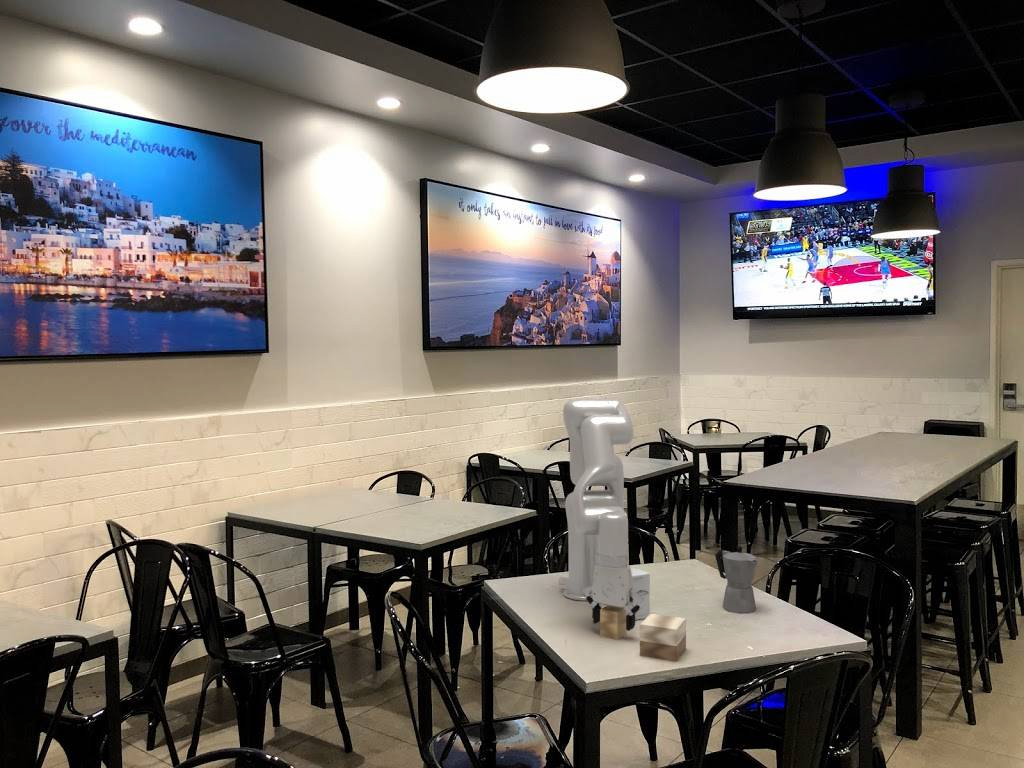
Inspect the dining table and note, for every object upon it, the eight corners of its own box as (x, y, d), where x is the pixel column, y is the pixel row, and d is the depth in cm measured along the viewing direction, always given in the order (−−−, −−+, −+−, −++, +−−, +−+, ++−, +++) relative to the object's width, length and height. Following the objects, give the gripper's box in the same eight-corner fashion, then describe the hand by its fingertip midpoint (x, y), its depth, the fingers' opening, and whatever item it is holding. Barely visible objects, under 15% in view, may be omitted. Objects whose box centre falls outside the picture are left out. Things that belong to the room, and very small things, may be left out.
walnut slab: (639, 657, 202) (639, 640, 202) (650, 645, 210) (650, 629, 210) (676, 662, 198) (676, 646, 198) (685, 650, 206) (686, 634, 206)
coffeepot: (768, 611, 235) (769, 548, 235) (746, 617, 230) (746, 553, 229) (727, 598, 248) (727, 538, 247) (704, 603, 243) (704, 542, 242)
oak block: (600, 635, 216) (600, 609, 216) (609, 630, 220) (609, 604, 220) (617, 639, 213) (617, 612, 213) (626, 634, 218) (626, 607, 217)
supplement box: (628, 622, 227) (628, 576, 226) (612, 614, 233) (612, 570, 233) (650, 618, 230) (650, 572, 230) (634, 610, 237) (634, 566, 236)
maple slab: (639, 640, 202) (639, 624, 202) (650, 629, 210) (650, 613, 210) (676, 646, 198) (676, 629, 198) (686, 634, 206) (686, 618, 206)
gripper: (577, 558, 218) (577, 623, 219) (636, 568, 208) (636, 636, 209) (591, 552, 224) (591, 615, 225) (650, 562, 214) (650, 627, 215)
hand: (613, 625), depth 217 cm, fingers open, 9 cm apart
